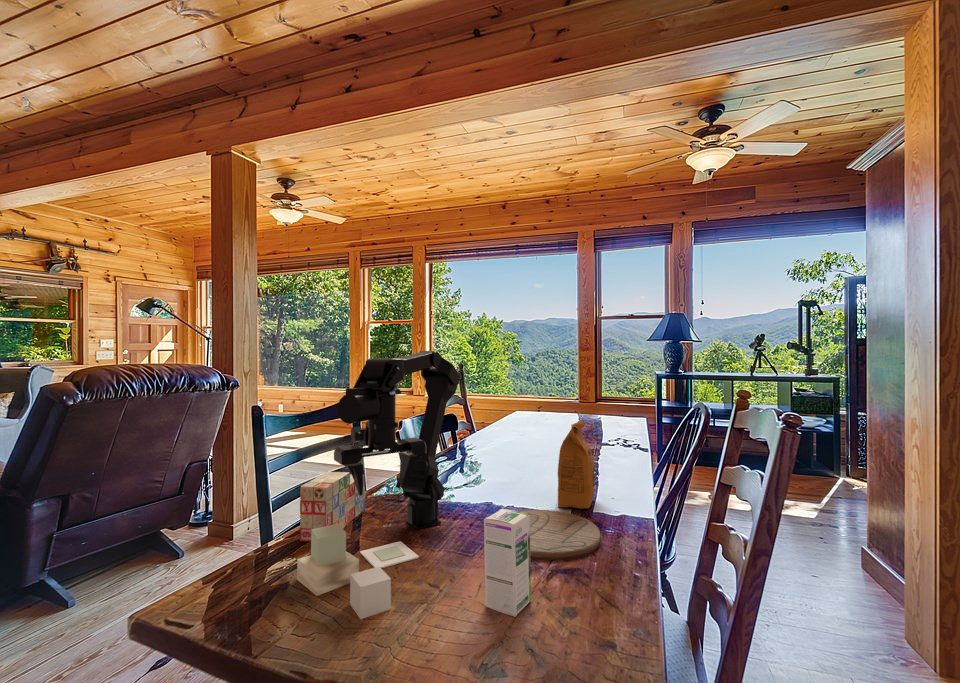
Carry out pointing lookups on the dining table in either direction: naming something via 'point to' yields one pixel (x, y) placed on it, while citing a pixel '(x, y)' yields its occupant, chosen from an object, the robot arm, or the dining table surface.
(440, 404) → the robot arm
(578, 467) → the coffee package
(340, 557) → the sage block
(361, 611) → the grey block
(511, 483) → the dining table surface
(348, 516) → the stack of blocks
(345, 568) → the birch base block
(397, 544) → the card
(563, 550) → the trivet
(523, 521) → the syrup box
